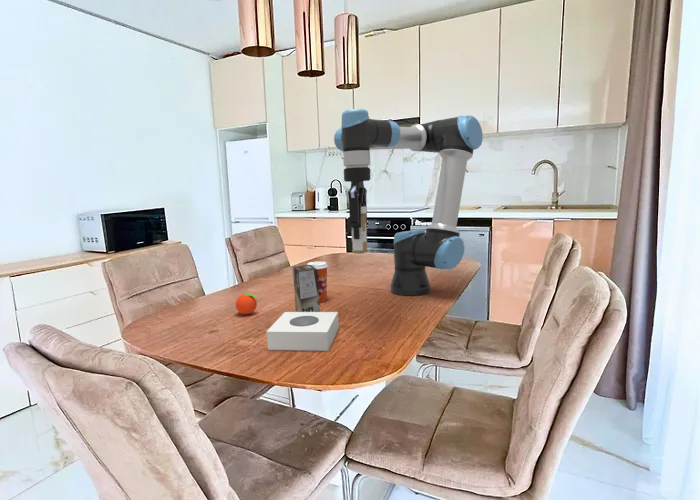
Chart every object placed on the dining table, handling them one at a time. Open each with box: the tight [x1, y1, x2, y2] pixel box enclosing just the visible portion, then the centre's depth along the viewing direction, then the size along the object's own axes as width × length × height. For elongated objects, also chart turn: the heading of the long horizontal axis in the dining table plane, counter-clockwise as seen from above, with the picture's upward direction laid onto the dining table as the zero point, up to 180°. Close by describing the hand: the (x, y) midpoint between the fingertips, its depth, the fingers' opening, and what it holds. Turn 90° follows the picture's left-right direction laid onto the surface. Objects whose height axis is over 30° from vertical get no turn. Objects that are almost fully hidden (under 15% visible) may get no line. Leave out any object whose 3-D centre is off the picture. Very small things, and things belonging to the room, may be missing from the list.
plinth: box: [266, 311, 340, 352], centre depth 113 cm, size 16×16×5 cm
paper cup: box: [306, 260, 329, 304], centre depth 148 cm, size 8×8×14 cm
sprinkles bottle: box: [351, 206, 368, 255], centre depth 118 cm, size 5×5×13 cm
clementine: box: [235, 293, 259, 315], centre depth 137 cm, size 8×7×7 cm
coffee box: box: [292, 264, 321, 312], centre depth 131 cm, size 9×6×16 cm
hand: (359, 248), depth 119 cm, fingers closed on sprinkles bottle, 4 cm apart
